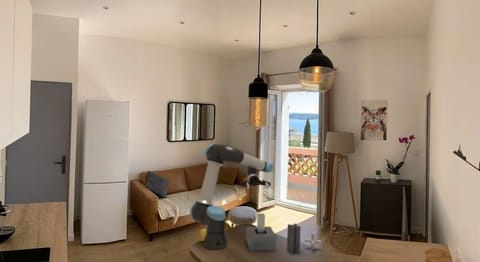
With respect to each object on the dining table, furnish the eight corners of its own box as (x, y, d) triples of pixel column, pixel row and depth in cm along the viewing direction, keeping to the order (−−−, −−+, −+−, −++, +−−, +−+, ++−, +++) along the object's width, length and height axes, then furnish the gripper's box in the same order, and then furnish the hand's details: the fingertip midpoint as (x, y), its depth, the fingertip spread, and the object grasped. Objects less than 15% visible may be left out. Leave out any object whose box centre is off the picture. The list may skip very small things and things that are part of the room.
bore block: (249, 251, 179) (250, 236, 179) (246, 240, 195) (246, 226, 195) (275, 250, 181) (275, 236, 181) (270, 239, 197) (270, 226, 197)
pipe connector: (321, 253, 179) (321, 237, 178) (304, 251, 181) (304, 235, 180) (320, 246, 189) (320, 231, 188) (304, 244, 191) (304, 229, 190)
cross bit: (285, 252, 179) (286, 226, 178) (288, 247, 186) (289, 222, 185) (298, 255, 176) (298, 228, 175) (300, 250, 183) (301, 224, 182)
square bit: (257, 246, 186) (258, 215, 185) (256, 244, 190) (257, 213, 189) (264, 246, 187) (264, 215, 185) (262, 243, 190) (263, 213, 189)
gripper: (269, 184, 224) (275, 192, 203) (237, 184, 221) (239, 192, 200) (270, 175, 224) (276, 181, 202) (237, 175, 221) (240, 181, 200)
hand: (258, 186), depth 201 cm, fingers open, 13 cm apart
